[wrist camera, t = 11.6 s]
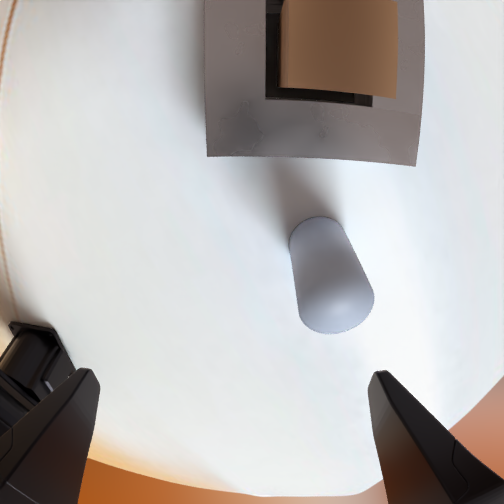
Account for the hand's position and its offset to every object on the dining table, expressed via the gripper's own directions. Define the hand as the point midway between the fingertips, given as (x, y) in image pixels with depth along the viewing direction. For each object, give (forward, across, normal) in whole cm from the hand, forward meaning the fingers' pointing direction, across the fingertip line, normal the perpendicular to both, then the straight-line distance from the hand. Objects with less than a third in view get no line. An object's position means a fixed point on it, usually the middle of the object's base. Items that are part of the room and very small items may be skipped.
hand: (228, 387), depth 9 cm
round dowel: (+11, -5, +1) cm, 12 cm away
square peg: (+11, -4, -10) cm, 15 cm away
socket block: (+11, -4, -10) cm, 15 cm away
